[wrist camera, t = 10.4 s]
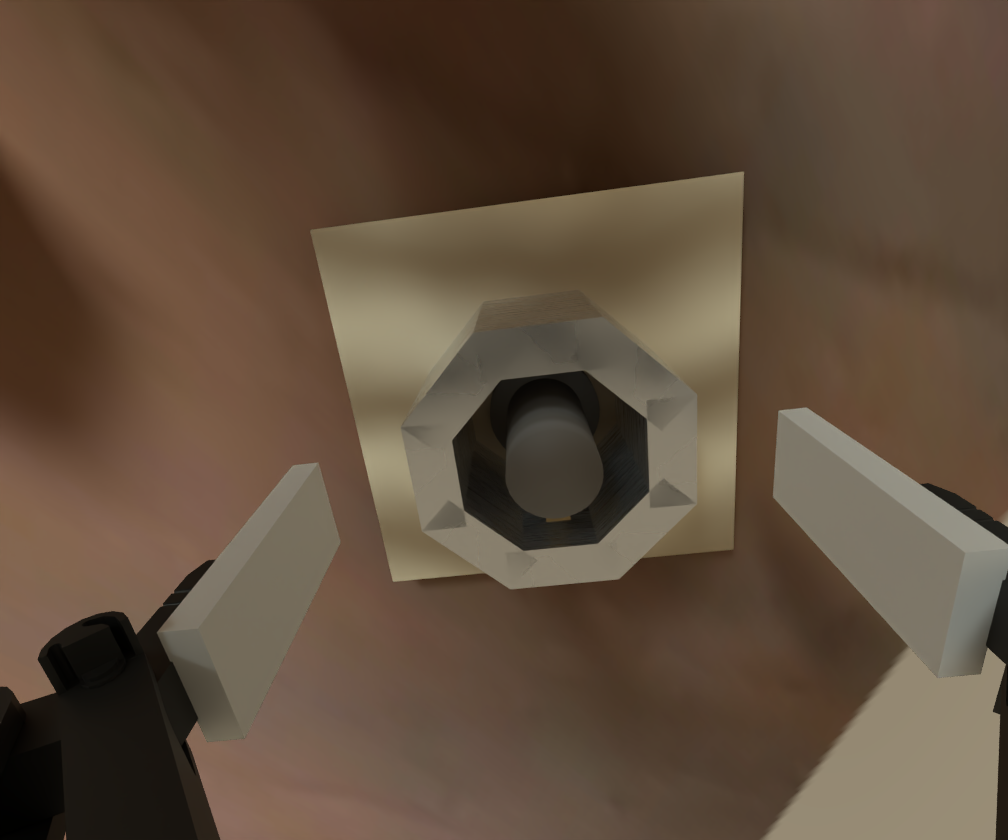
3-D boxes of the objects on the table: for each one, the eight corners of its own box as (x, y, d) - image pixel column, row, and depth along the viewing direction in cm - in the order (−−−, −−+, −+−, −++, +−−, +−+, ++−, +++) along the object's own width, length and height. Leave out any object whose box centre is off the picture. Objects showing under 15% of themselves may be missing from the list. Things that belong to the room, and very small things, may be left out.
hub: (417, 309, 21) (383, 343, 16) (647, 281, 21) (697, 305, 15) (453, 509, 25) (435, 596, 19) (654, 488, 24) (697, 571, 18)
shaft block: (322, 229, 22) (224, 236, 14) (728, 174, 21) (848, 152, 13) (399, 562, 27) (356, 693, 20) (721, 531, 26) (803, 656, 19)
